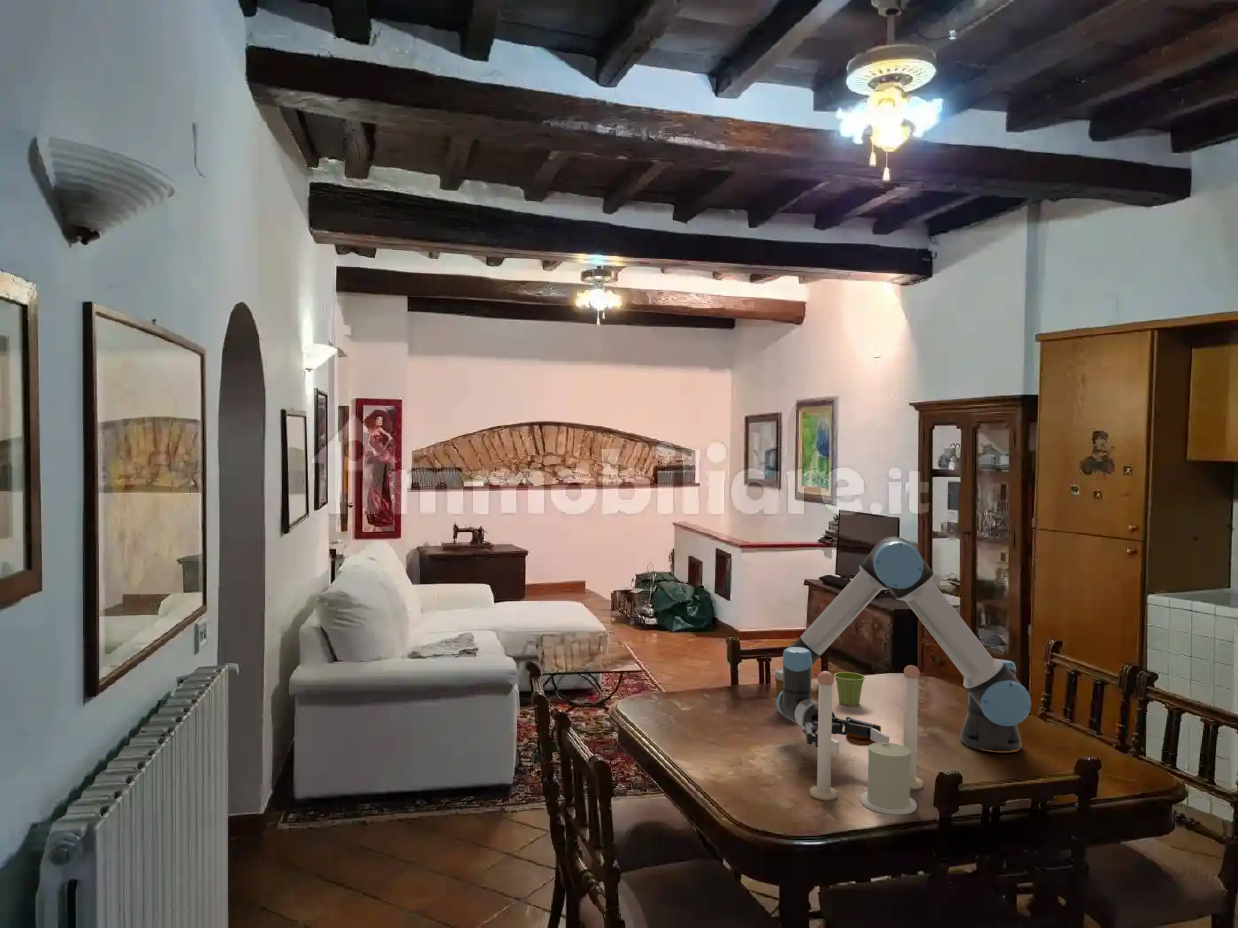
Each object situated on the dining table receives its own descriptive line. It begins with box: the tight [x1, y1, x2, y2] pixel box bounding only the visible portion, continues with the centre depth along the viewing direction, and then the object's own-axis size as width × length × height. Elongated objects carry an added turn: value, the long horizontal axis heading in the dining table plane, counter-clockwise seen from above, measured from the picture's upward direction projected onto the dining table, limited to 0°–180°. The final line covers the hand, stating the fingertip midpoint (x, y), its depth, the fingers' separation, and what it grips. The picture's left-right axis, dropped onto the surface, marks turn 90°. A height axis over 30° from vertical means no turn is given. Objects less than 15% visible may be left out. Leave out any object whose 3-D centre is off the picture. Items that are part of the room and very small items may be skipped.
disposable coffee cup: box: [773, 666, 783, 697], centre depth 257 cm, size 10×10×12 cm
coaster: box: [859, 790, 917, 816], centre depth 189 cm, size 12×12×1 cm
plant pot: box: [833, 671, 866, 707], centre depth 265 cm, size 9×9×9 cm
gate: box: [809, 664, 924, 801], centre depth 197 cm, size 29×6×28 cm, turn 107°
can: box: [867, 742, 911, 809], centre depth 189 cm, size 9×9×12 cm
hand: (863, 745), depth 199 cm, fingers open, 13 cm apart
